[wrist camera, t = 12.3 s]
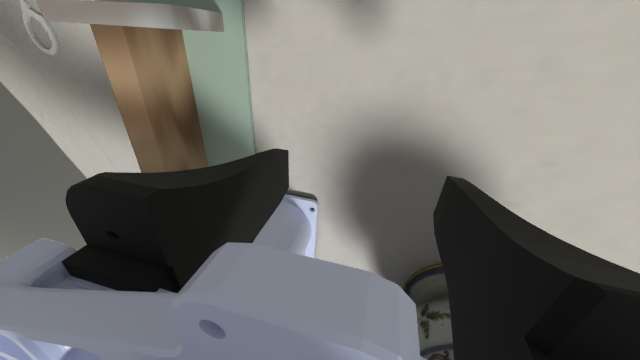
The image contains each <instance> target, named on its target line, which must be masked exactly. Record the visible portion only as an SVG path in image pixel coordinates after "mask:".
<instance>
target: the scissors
mask: <svg viewBox="0 0 640 360" xmlns="http://www.w3.org/2000/svg"><path fill="white" fill-rule="evenodd" d="M19 1H20V5H21V10H22V19H23V23H24V25H25V28H26V30H27V33H28V34H29V36H30V38H31V39H32V41H33V42H34V43H35V44H36V46H37V47H38V48H39V49H40V50H42V51H43V52H45V53H47V54H49V55H56V54H57V52H58V50H59V48H58V41H57V38H56V36H55V34H54V32H53V30H52V28H51V26H50V25H49V23H48V21H45V19H44V17H43V16H42V15H41V14H39V13H37V12H36V11H34V10H33V9H31V7H30V5H29V3H28V2H27V1H26V0H19ZM31 17H34V18H35V19H37V20H38V21H39V22H40V23H41V25H42V26H43V28H44V29H45V30H46V32H47V33H48V35H49V38H50V40H51V43H52V46H51V48H50V49H47V48H45V47H44V46H43V45H42V44H41V43H40V42H39V41H38V39H37V38H36V37H35V35H34V33H33V30H32V27H31V24H30V20H31Z"/></svg>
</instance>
